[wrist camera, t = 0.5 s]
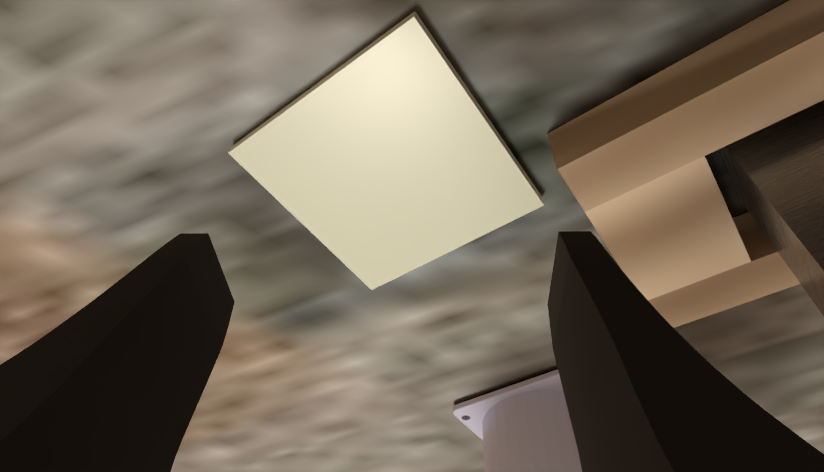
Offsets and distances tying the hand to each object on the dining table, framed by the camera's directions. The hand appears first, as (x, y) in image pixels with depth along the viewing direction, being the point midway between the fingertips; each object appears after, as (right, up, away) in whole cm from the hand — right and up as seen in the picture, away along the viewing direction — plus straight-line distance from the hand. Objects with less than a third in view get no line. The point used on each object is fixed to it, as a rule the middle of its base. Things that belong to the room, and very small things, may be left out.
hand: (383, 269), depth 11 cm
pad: (0, +3, +10) cm, 11 cm away
